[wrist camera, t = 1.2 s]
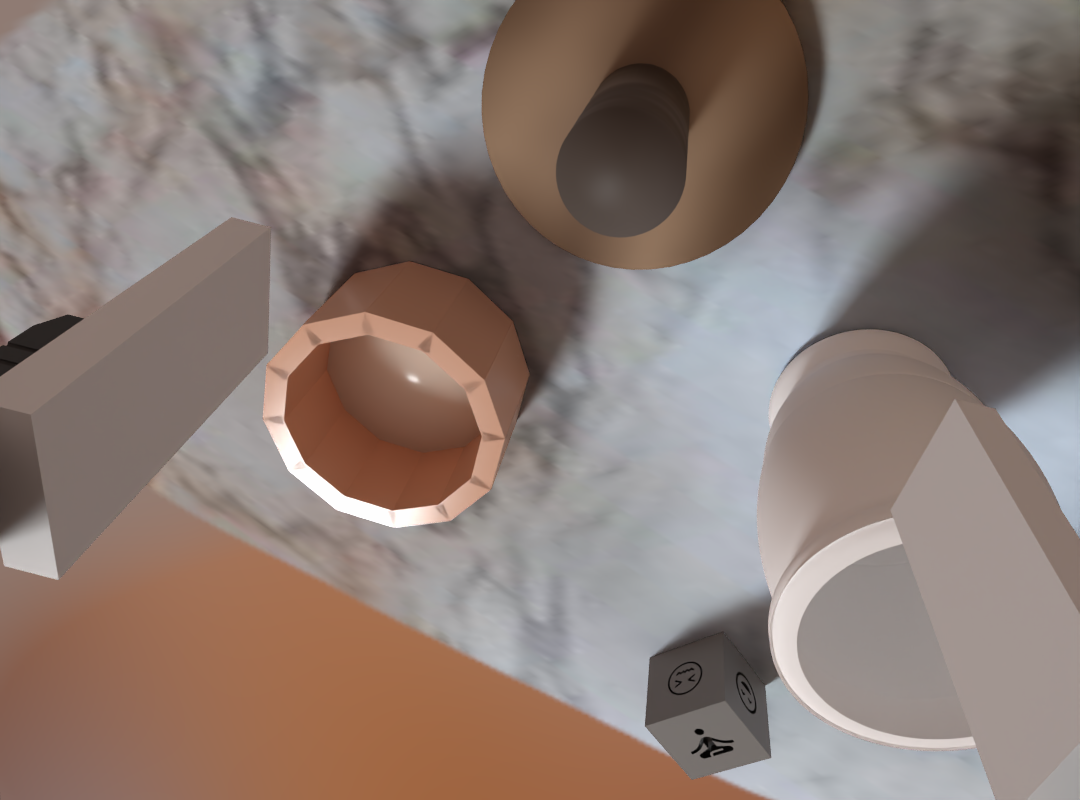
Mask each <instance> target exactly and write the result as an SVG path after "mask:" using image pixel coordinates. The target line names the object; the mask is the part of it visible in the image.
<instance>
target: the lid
mask: <svg viewBox="0 0 1080 800" xmlns="http://www.w3.org/2000/svg"><path fill="white" fill-rule="evenodd" d="M807 108H808V78H807V69H806V64H805V59H804V53H803V49H802V46H801V43H800V40H799V37H798V34H797V31H796V28H795V26H794V24H793V22H792V20H791V18H790V16H789V14H788V12H787V10H786V8H785V6H784V5H783V3H782V2H781V1H780V0H516V1H515V2H514V4H513V5H512V6H511V8H510V9H509V11H508V13H507V15H506V16H505V18H504V20H503V22H502V24H501V25H500V27H499V29H498V32H497V34H496V37H495V39H494V42H493V44H492V47H491V50H490V53H489V57H488V61H487V65H486V69H485V74H484V81H483V89H482V120H483V129H484V137H485V141H486V145H487V149H488V154H489V157H490V160H491V162H492V165H493V168H494V170H495V173H496V176H497V177H498V179H499V181H500V183H501V185H502V187H503V189H504V191H505V193H506V194H507V196H508V197H509V199H510V200H511V202H512V203H513V205H514V206H515V208H516V209H517V210H518V211H519V212H520V214H521V215H522V216H523V217H524V218H525V219H526V220H527V222H528V223H529V224H530V225H531V226H533V227H534V228H535V229H536V230H537V231H538V232H539V233H540V234H541V235H543V236H544V237H545V238H547V239H548V240H550V241H551V242H552V243H554V244H555V245H557V246H558V247H560V248H562V249H563V250H565V251H567V252H569V253H571V254H573V255H575V256H577V257H580V258H582V259H585V260H588V261H590V262H593V263H597V264H601V265H605V266H609V267H614V268H623V269H632V270H635V269H657V268H664V267H671V266H675V265H679V264H682V263H686V262H690V261H693V260H695V259H698V258H700V257H702V256H705V255H707V254H710V253H711V252H713V251H715V250H717V249H719V248H720V247H722V246H724V245H726V244H727V243H729V242H730V241H732V240H733V239H734V238H736V237H737V236H739V235H740V234H741V233H743V232H744V231H745V230H746V229H747V228H748V227H749V226H750V225H752V224H753V223H754V222H755V221H756V220H757V219H758V218H759V217H760V216H761V215H762V213H763V212H764V211H765V210H766V209H767V207H768V206H769V205H770V204H771V203H772V202H773V200H774V199H775V197H776V196H777V194H778V193H779V191H780V189H781V188H782V186H783V185H784V183H785V181H786V179H787V177H788V175H789V173H790V171H791V169H792V167H793V165H794V163H795V160H796V157H797V155H798V152H799V149H800V146H801V143H802V139H803V134H804V130H805V125H806V120H807Z"/></svg>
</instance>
